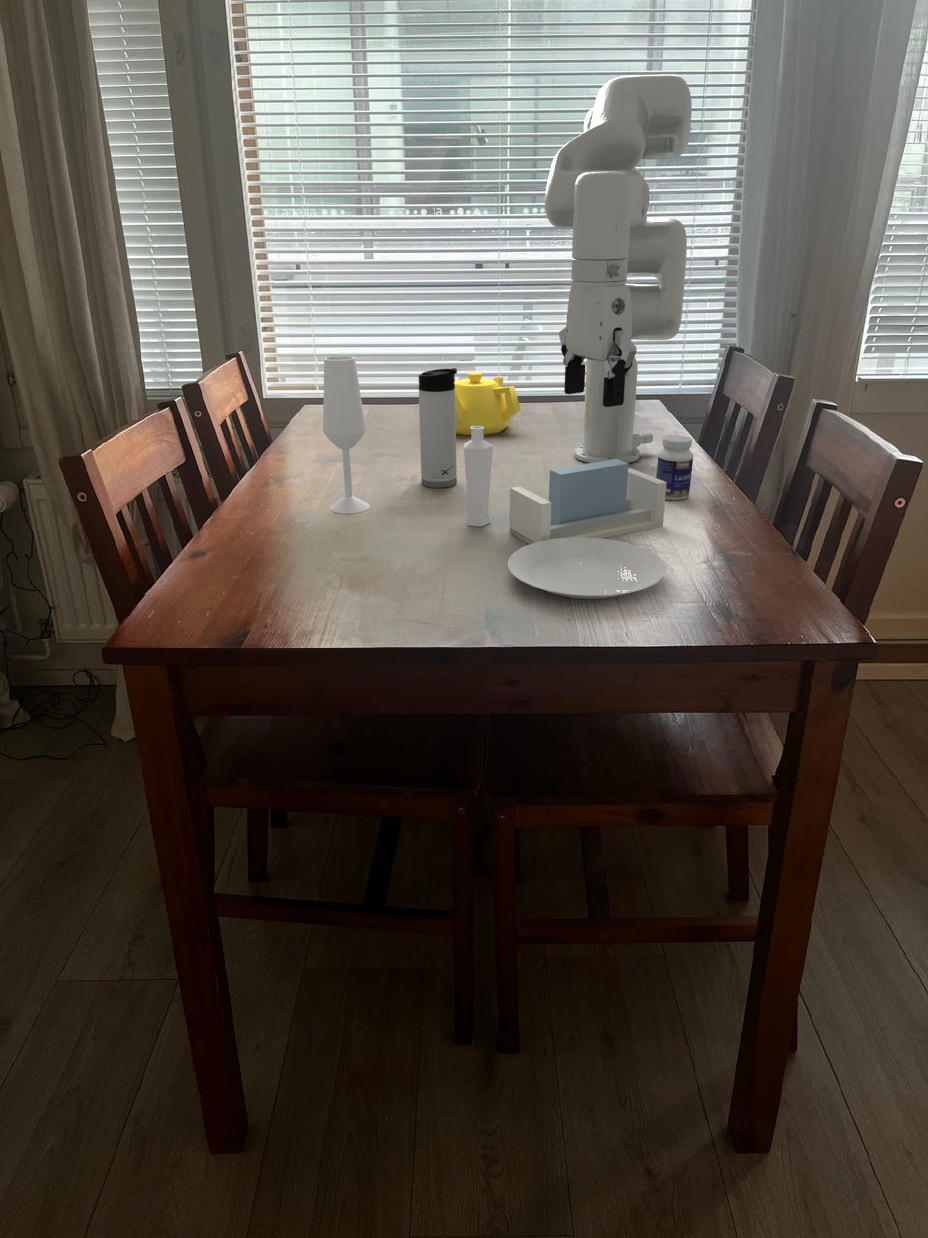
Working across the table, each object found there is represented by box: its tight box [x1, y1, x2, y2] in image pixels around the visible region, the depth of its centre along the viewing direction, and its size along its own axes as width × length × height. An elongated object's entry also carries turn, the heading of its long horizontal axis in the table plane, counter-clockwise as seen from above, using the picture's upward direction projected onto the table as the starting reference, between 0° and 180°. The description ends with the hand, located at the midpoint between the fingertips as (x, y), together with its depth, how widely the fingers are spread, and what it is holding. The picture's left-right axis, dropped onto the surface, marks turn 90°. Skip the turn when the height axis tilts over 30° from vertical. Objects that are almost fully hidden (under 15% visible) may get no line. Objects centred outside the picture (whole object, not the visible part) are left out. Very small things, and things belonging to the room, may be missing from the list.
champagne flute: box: [322, 355, 371, 514], centre depth 145 cm, size 7×7×24 cm
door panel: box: [548, 459, 629, 526], centre depth 137 cm, size 12×3×9 cm, turn 117°
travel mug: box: [418, 367, 458, 489], centre depth 158 cm, size 6×7×20 cm
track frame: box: [509, 467, 667, 545], centre depth 138 cm, size 22×9×7 cm, turn 117°
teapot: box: [454, 371, 521, 436], centre depth 197 cm, size 17×17×12 cm
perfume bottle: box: [463, 426, 494, 527], centre depth 140 cm, size 5×4×15 cm
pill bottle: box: [655, 434, 694, 501], centre depth 152 cm, size 6×6×10 cm
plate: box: [507, 537, 667, 600], centre depth 121 cm, size 21×21×2 cm
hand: (593, 399), depth 131 cm, fingers open, 9 cm apart
